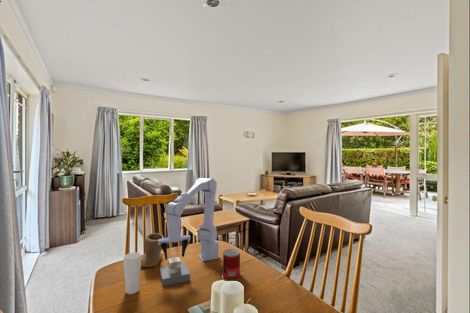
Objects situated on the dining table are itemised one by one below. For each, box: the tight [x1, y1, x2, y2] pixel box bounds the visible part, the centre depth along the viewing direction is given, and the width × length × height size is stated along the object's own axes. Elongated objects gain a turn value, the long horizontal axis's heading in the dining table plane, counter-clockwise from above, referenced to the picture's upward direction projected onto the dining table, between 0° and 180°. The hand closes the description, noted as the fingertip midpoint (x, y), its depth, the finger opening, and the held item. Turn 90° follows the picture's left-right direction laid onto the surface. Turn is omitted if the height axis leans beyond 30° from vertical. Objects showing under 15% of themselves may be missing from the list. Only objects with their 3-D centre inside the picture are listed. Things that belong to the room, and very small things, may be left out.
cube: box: [167, 256, 182, 274], centre depth 111 cm, size 5×5×5 cm
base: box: [159, 262, 191, 287], centre depth 111 cm, size 12×12×3 cm
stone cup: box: [141, 232, 165, 268], centre depth 126 cm, size 15×12×15 cm
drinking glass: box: [123, 251, 142, 295], centre depth 99 cm, size 7×7×15 cm
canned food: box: [222, 248, 241, 280], centre depth 112 cm, size 8×8×11 cm
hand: (174, 257), depth 111 cm, fingers open, 7 cm apart
